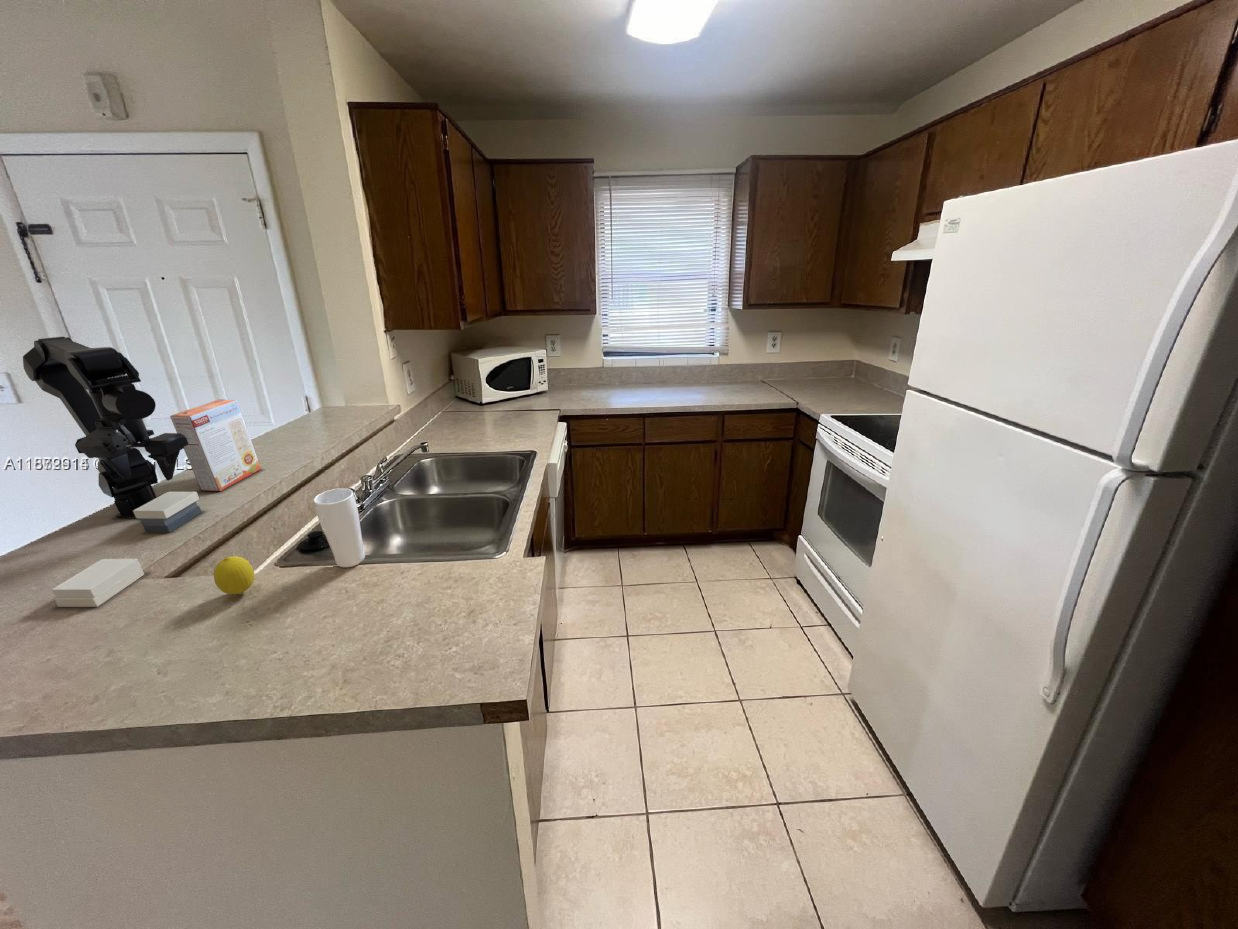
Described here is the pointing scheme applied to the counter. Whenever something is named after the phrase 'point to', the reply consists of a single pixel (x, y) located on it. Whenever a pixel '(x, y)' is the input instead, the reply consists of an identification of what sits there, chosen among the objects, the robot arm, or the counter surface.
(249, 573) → the lemon
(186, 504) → the ivory book
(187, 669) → the counter surface
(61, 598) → the ivory books
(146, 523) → the grey books
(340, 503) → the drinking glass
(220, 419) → the cracker box
